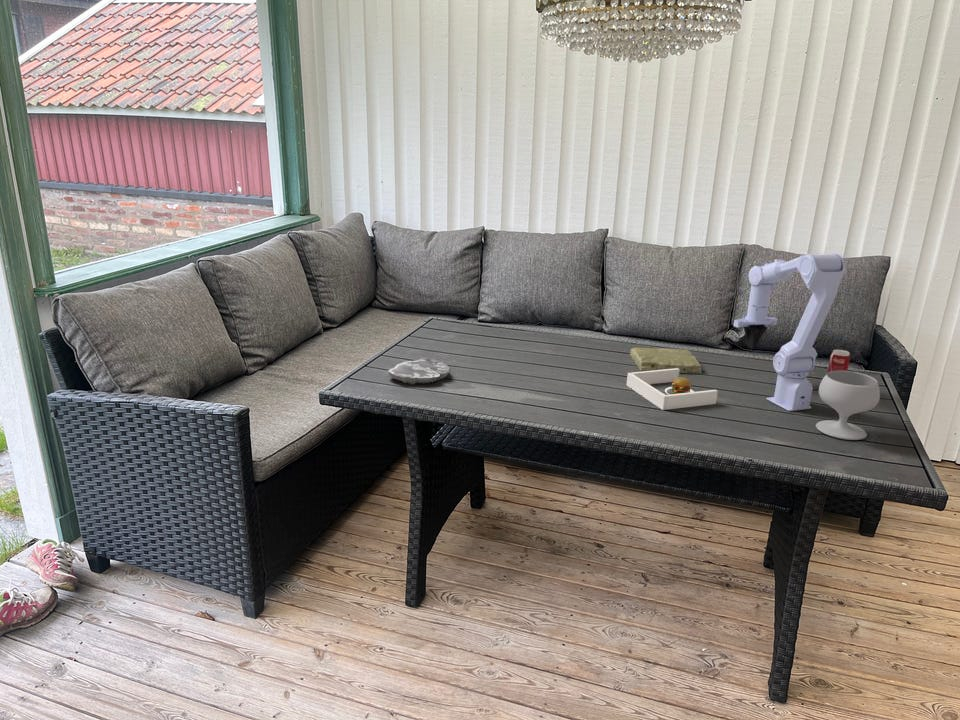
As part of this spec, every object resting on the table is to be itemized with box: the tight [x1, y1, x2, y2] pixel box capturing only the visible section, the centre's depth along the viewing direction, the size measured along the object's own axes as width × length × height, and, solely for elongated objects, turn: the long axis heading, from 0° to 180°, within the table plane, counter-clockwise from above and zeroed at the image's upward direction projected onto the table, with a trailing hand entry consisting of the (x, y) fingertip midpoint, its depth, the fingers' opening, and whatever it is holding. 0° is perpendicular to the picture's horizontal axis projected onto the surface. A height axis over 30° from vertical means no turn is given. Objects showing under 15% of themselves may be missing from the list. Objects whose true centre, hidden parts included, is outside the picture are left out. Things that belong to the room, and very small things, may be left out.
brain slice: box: [387, 357, 451, 385], centre depth 213 cm, size 20×17×3 cm
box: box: [626, 368, 719, 411], centre depth 204 cm, size 20×18×4 cm
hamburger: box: [664, 376, 695, 395], centre depth 205 cm, size 12×12×6 cm
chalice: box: [815, 370, 881, 441], centre depth 180 cm, size 14×14×15 cm
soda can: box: [826, 349, 851, 374], centre depth 210 cm, size 5×5×12 cm
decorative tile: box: [629, 346, 702, 374], centre depth 231 cm, size 19×20×4 cm
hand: (751, 347), depth 215 cm, fingers closed
